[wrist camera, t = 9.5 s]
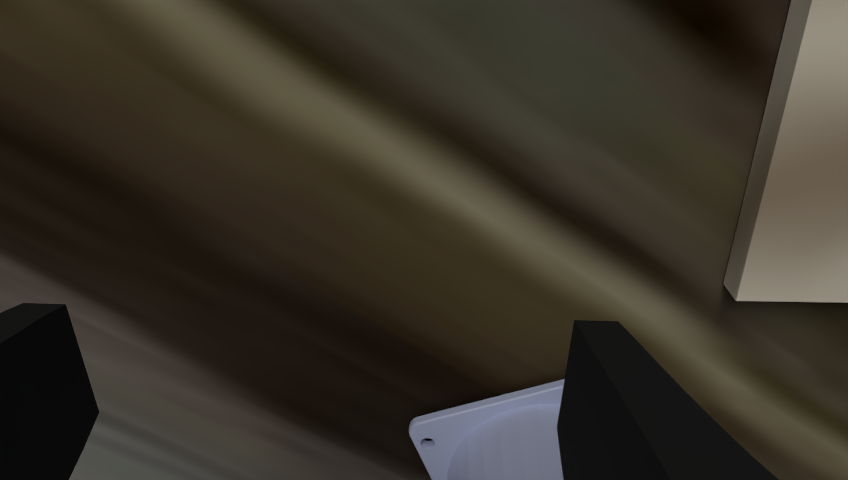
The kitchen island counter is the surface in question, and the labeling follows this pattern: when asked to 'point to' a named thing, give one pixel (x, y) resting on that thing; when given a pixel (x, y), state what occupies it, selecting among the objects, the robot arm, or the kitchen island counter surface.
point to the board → (799, 169)
